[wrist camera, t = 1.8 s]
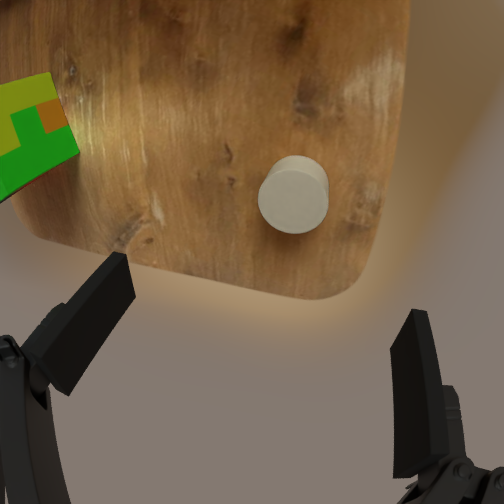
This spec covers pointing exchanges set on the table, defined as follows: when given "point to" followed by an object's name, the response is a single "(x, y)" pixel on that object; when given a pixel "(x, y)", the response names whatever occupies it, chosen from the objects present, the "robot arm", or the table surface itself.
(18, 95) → the puzzle toy
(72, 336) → the robot arm
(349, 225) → the table surface
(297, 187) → the cylinder
